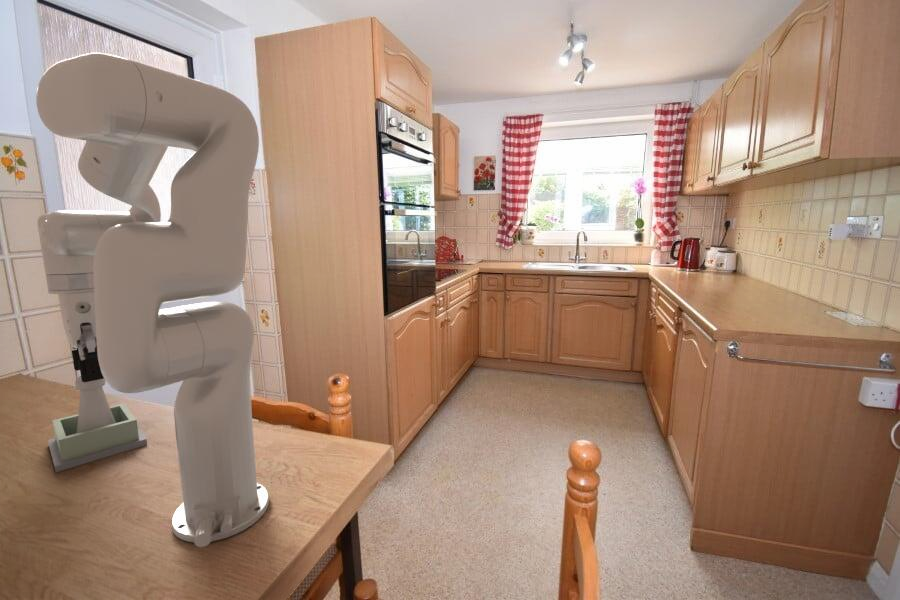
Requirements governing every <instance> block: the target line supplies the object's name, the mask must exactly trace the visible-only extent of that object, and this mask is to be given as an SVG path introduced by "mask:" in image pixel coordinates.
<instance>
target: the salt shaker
mask: <svg viewBox="0 0 900 600" xmlns="http://www.w3.org/2000/svg"><path fill="white" fill-rule="evenodd" d="M74 383H75V389H76V390H78V391H80V394H79V395H80V397H79V406H78V425H77V433H80V432H84V431H88V430H92V429H96V428H99V427H103V426H107V425H111V424H115V423H116V422H115V420H114V417H113V415H112V412H111V410H110V407H111V406H110V405H109V402H108V399H107V397H106V393H105V391H104V388H103V387H104V386H106V380H105V379H99V380H94V381H89V382H82V380H81V375H80V376H78V377H77V378H76V379H75V382H74Z"/></svg>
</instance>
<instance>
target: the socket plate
mask: <svg viewBox="0 0 900 600" xmlns="http://www.w3.org/2000/svg"><path fill="white" fill-rule="evenodd" d="M109 407H110V410H111V412H112V415H113V417H114V420H115V422H116V423H115V424H111V425H107V426H103V427H99V428H96V429H92V430H88V431H84V432H80V433H77V425H78V414H79V413H78V414H73V415H70V416H65V417H60V418H57V419H52V426H53V431H54V438H49V439H47V443H48V447H49V451H50V456H51V459H52V463H53V467H54V471H55V473H59V472H62V471H65V470H68V469H72V468H76V467H78V466H82V465H85V464H88V463H91V462H95V461H98V460H101V459H105V458H109V457H112V456H115V455H118V454H122V453H125V452H128V451H131V450H135V449H137V448H138V449H139V448H140V447H144V446H147V445H148V440H147V437H146V436H145V435H144V433H143V432H142V431H141V429H140V428H139V426H138V419H137V418H136V417H135V415H134V414H133V413H132V411H131V410H130V409H129V407H128V406H127V405H126V403H125V402H124V403H119V404H116V405H115V404H114V405H111V406H109Z"/></svg>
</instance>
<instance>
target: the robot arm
mask: <svg viewBox="0 0 900 600" xmlns="http://www.w3.org/2000/svg"><path fill="white" fill-rule="evenodd" d="M35 95H36V97H35V101H36V109H37V112H38V116H39V118H40V120H41V121H42V123H43V125H44V126H45V127H46V128H47V129H48V130H49V131H50V132H51V133H53V134H55V135H57V136H60V137H62V138H67V139H68V138H69V139H73V140H74V139H75V140H80V141H85V143H84V145H83V148H82V150H81V154H80V155H79V158H78V162H77V167H78V171H79V174H80V176H81V177H82V179H83V180H84V181H85V182H86V183H87V184H88V185H90V186H91V187H92V188H93V189H95V191H97V192H99V193H102V194H104V195H106V196H109V197H111V198H112V199H115V200H118V201H119V202H122V203H124V204H127V205H130V206H131V207H130V209H129V210H128V211H113V210H112V211H109V210H108V211H107V210H106V211H105V210H75V209H74V210H72V209H71V210H70V209H69V210H68V209H64V210H63V209H62V210H61V209H60V210H55V211H51V212H49V213H43V214H41V215H40V216H38V219H37V229H38V236H39V242H40V248H41V249H40V250H41V253H42V261H43V267H44V273H45V278H46V279H45V280H46V287H47V291H48V294H50V295H51V294H52V295H57V296H58V300H59V301H58V302H59V307H60V309H59V310H60V314H61V320H62V325H63V327H64V331H65V335H66V338H67V341H68V343H69V345H71V347H72V348H71V349H72V350H71V355H72V362H73V367H74V368H73V369H74V370H75V371H79V372H80V376H81V380H82V382H89V381H94V380H99V379H105V383H107V384H108V386H109V387H111V388H112V389H113V390H115V391H117V392H119V393H123V394H138V393H143V392H147V391H151V390H156V389H160V388H163V387H166V386H169V385H173V384H175V383H179V382H181V385H180V387H179V389H178V391H177V394H176V397H175V400H174V405H173V418H174V429H175V437H176V449H177V457H178V458H177V459H178V466H179V477H180V485H181V494H182V496H181V498H182V503H181V504H180V505H179V507H177V509H176V510H175V512H174V513H173V515H172V518H171V529H172V532H173V534H174V535H175V537H177V538H178V539H180V540H181V541H185V542H189V543H194V545H195V546H197V547H200V548H204V547H207V546H208V545H209V544H211V542H217V541H220V540H224V539H227V538H230V537H232V536H236V535H237V534H240V533H241V532H243V531H245V530H246V529H249V527H251V526H253V525H254V524H255V523H256V522H257V521H259V520H260V519H261V517H262V516H263V515H264V514H265V513H266V511H267V509H268V507H269V504H270V495H269V491H268V489H267V488H266V487H265V486H264V485H263V484H260V483H259V482H257V469H256V455H255V442H254V441H255V440H254V439H255V438H254V425H253V415H252V414H253V412H252V398H251V397H252V396H251V395H252V393H251V370H252V369H251V368H252V367H251V365H252V359H253V352H254V345H255V328H254V324H253V321H252V319H251V316H249V314H248V313H247V311H246V310H245V309H243V308H242V307H241V306H239V305H237V304H234V303H231V302H227V301H207V302H199V303H192V304H191V303H190V304H185V305H184V304H183V305H176V306H173V307H170V308H169V307H168V308H161V307H162V305H164V304H165V303H166V304H167V303H171V302H180V301H187V300H193V299H194V300H195V299H201V298H209V297H214V296H219V295H224V294H229V293H230V292H233V291H235V290H237V289H238V287H240V285H241V284H242V282H243V280H244V278H245V277H244V276H245V271H246V263H247V246H248V245H247V244H248V243H247V241H248V219H249V197H250V196H249V195H250V188H251V185H252V179H253V176H254V173H255V169H256V166H257V161H258V154H259V148H260V147H259V146H260V142H259V141H260V137H259V129H258V125H257V123H256V119H255V117H254V115H253V113H252V111H251V110H250V109H249V107H248V105H247V104H246V103H244V102H243V100H242V99H240V98H239V97H237V96H235V95H234V94H233V93H230V92H229V91H227V90H224V89H222V88H220V87H217V86H215V85H212V84H210V83H207V82H204V81H200V80H198V79H194V78H191V77H188V76H184V75H182V74H177V73H174V72H170V71H166V70H163V69H161V68H158V67H157V68H156V67H154V66H151V65H148V64H144V63H141V62H138V61H135V60H131V59H128V58H125V57H121V56H118V55H114V54H110V53H105V52H104V53H103V52H90V53H86V54H85V53H84V54H81V55H78V56H74V57H70V58H67V59H64V60H61V61H58V62H56V63H55V64H53V65H51V66H50V67H49V68H47V70H46V71H45V72H44V73H43V75H42V77H41V78H40V80H39V82H38V85H37V89H36V94H35ZM168 147H171V148H180V149H185V150H190V151H194V153H193V154H192V155H191V156H189V158H188V159H186V160H185V161H184V163H183V164H182V165H181V166H180V168H179V169H178V171H176V174H175V176H174V177H173V179H172V182H171V187H170V215H169V218H168V220H166V222H162V221H161V220H162V219H161V217H162V216H161V215H162V214H161V211H162V210H161V205H160V202H159V199H158V197H157V194H156V192H155V191H154V189H153V188H152V187H151V185H150V182H151V181H152V179H153V177H154V175H155V173H156V171H157V169H158V167H159V165H160V163H161V161H162V159H164V156H165V154H166V152H167V150H168Z"/></svg>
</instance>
